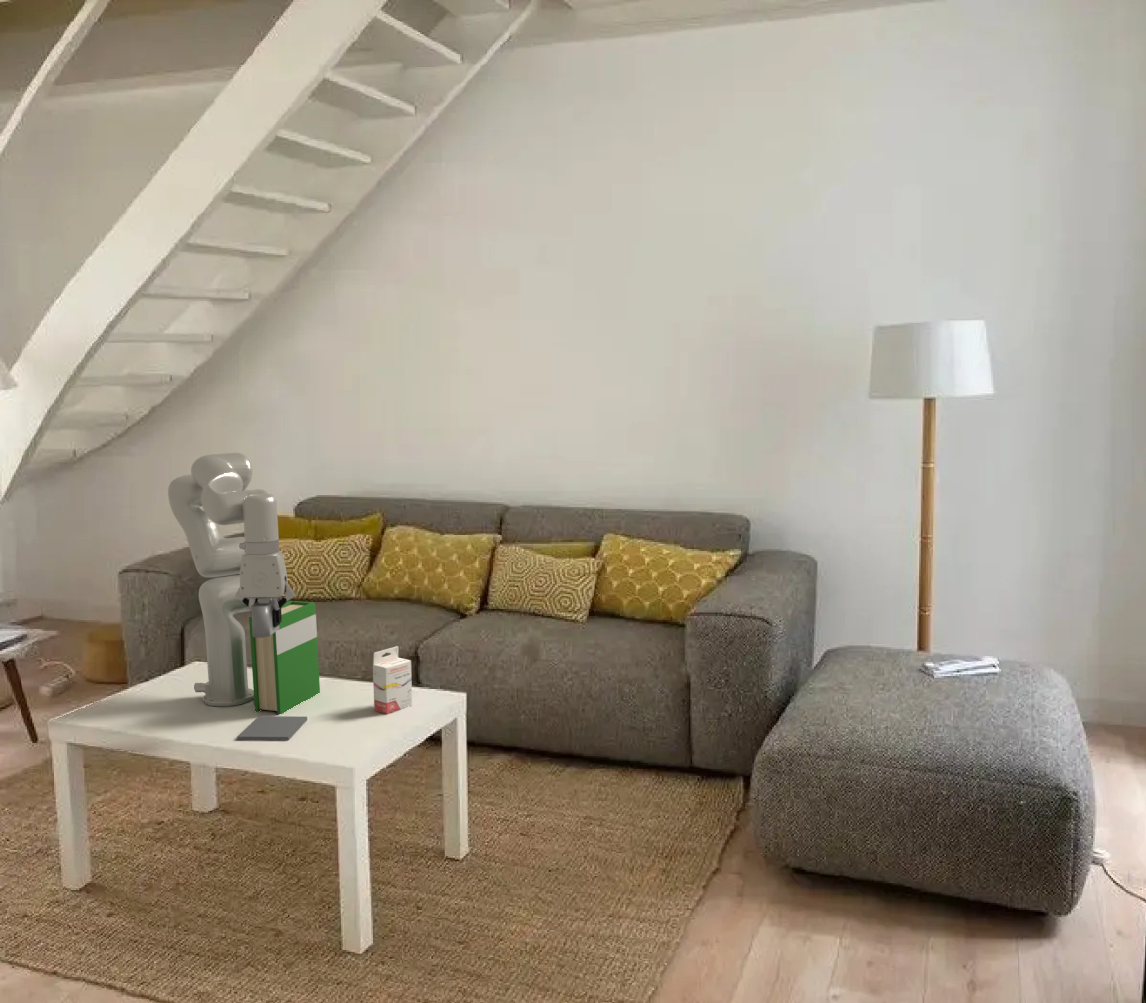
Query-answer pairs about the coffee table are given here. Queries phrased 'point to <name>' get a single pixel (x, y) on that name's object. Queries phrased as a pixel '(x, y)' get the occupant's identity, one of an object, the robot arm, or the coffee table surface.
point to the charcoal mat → (272, 728)
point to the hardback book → (286, 660)
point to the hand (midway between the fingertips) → (266, 624)
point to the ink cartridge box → (391, 681)
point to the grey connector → (263, 618)
